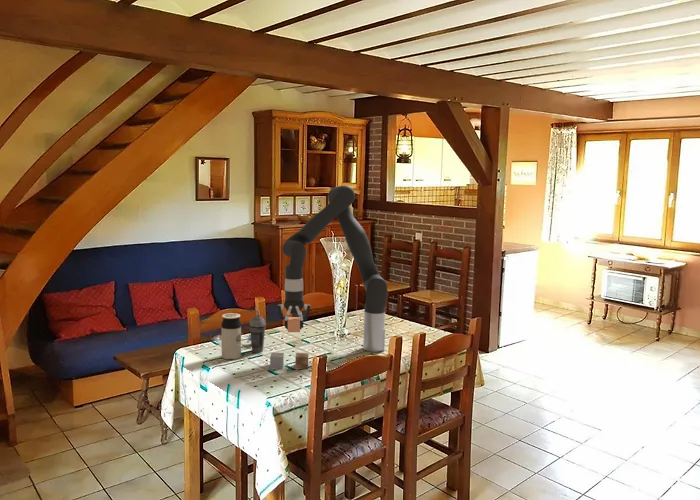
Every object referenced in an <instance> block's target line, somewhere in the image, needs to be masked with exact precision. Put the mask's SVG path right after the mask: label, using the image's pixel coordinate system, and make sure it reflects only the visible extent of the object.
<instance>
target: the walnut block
mask: <svg viewBox="0 0 700 500" xmlns="http://www.w3.org/2000/svg"><path fill="white" fill-rule="evenodd" d="M294 358H295V362H294V363H295V367H294V369H295V370H309V353H308V352H295V357H294Z"/></svg>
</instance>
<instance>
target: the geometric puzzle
mask: <svg viewBox="0 0 700 500" xmlns="http://www.w3.org/2000/svg"><path fill="white" fill-rule="evenodd" d="M246 341H247V342H249V343H250V342H251V332H249V334H248V337H247V340H246Z"/></svg>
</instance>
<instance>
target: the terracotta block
mask: <svg viewBox="0 0 700 500" xmlns="http://www.w3.org/2000/svg"><path fill="white" fill-rule="evenodd" d="M287 332H288V333H301V329H300V318H299V316H296V317H295V316H289V317H288V329H287Z"/></svg>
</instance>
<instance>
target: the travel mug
mask: <svg viewBox="0 0 700 500" xmlns="http://www.w3.org/2000/svg"><path fill="white" fill-rule="evenodd" d="M221 315H222V316H221V317H222V322H221V323H220V324H221V325H220V326H221V358H222V359H224V360H227V359H233V360H237V359H239V358H241V357H242V322H241V320H240V318H241V314H240V313H235V312H234V313H233V312H229V313H224V314H221Z"/></svg>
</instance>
